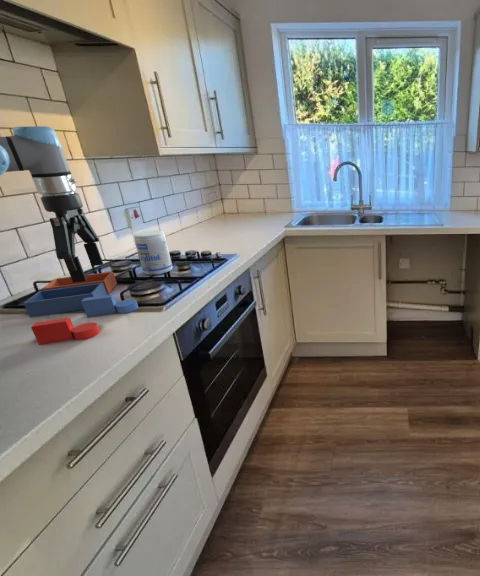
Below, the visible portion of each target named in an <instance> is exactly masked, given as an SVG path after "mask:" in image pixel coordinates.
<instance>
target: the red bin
mask: <svg viewBox="0 0 480 576" xmlns="http://www.w3.org/2000/svg"><path fill="white" fill-rule="evenodd" d="M85 276H86V279H87V281H83V282H76V283H73V281H72V278H71V276H65V277H57V278H54V279H53V280H52V281H50V282H49V283H47V284H46V285H45V286H43V288H41V289H42V290H41V291H44V290H51V289H59V288H67V287H74V286H82V285H90V284H98V283H103V285H104V288H105V291H106V294H107V295H110V294H111V292H112V291H113V289H114V288H115V287H116V286H117V285H118V282H117V279H116V276H115V273H114V271H107V272H106V271H105V272H97V273H90V274H85Z"/></svg>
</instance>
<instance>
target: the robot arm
mask: <svg viewBox="0 0 480 576" xmlns="http://www.w3.org/2000/svg"><path fill="white" fill-rule="evenodd" d="M12 132H13V135H9V136H0V176H2V175H3V174H5V173H12V172H24V171H29V174H30V176H31V178H32V179H31V180H32V181H33V184H34V187H35V189H36V192H37V194H39V195H41V196H40V201H41V203H42V206H43V208H44V210H45V211H46V212H48V213H54V214H55V217H50V218H49V223H50V225H51V229H52V236H53V242H54V247H55V253H56V258H57V260H59V261H60V260H63V261H64V263H65V266H66V268H67V271H68V273H69V277H71V278H72V281H73V283H76V282H83V281H87V279H86V276H85V275H86V273H85V271H84V269H83V266H82V264H81V261H80V259H79V256H77V255H76V239H75V235H77V236H78V237H79V238H80V239H81V240H82V241H83V248H84V250H85V253H86V255H87V257H88V260H89V263H90V266H91V267H97V266H104V261H103V257H102V255H101V253H100V250H99V248H98V245H97V243H99V242H100V239H99V237H98V234H97V233H96V231H95V230H94V228H93V227H92V225H91V223H90V221H89V220H88V218H87V217H86V215H85V212H84V209H83V206H84V205H83V202H82V199H81V196H80V194H79V193H78V192H76V191H77V190H78V189H77V186H76V183H77V179H75V178H74V177H73V175H72V171H71V169H70V166H69V163H68V160H67V157H66V155H65V152H64V149H63V146H62V144H61V141H60V139H59V137H58V134H57V132H56V131H55V129H53V128H52V127H50V126H45V125H44V126H43V125H39V126H37V125H36V126H35V125H34V126H14V127H13V128H12Z"/></svg>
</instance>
